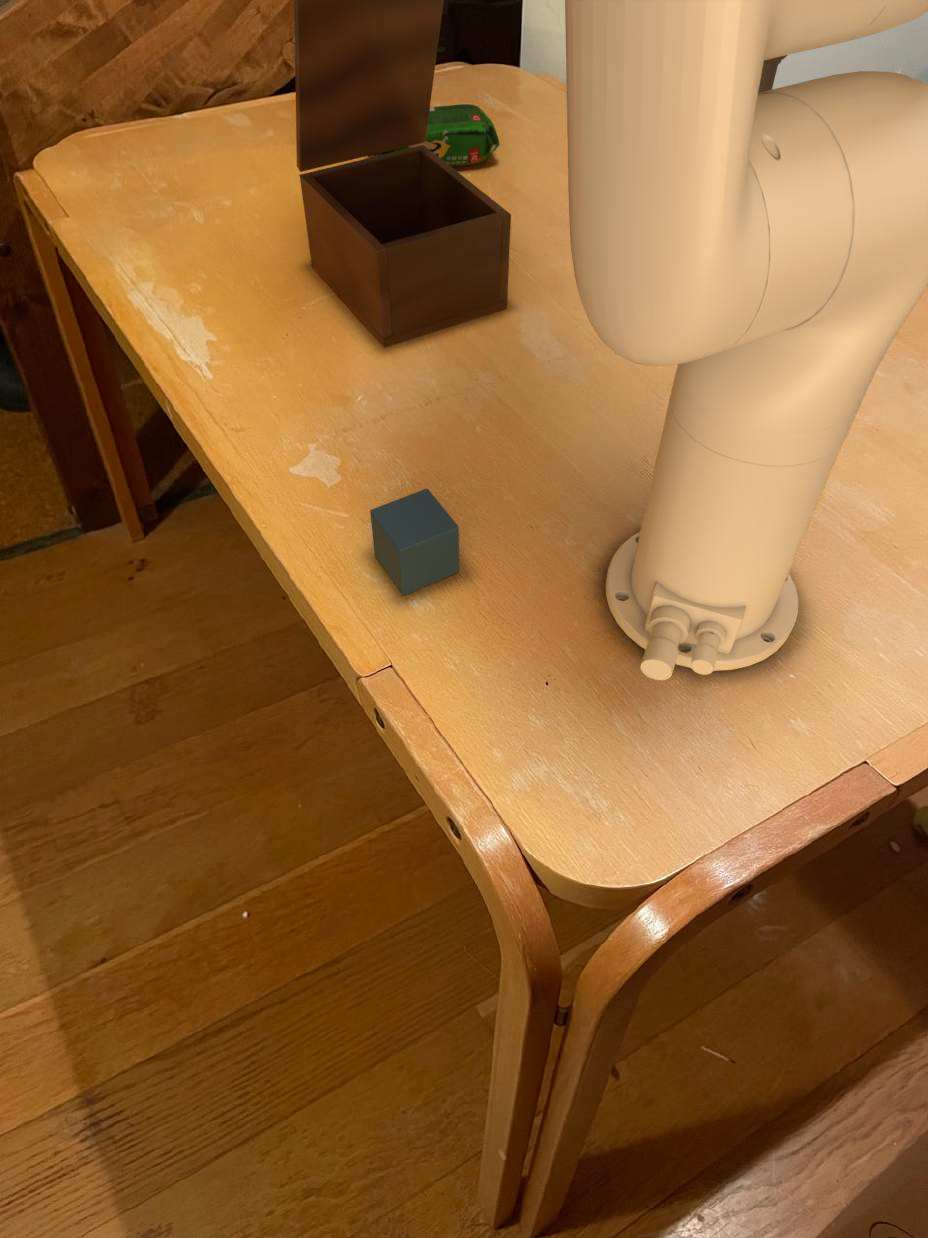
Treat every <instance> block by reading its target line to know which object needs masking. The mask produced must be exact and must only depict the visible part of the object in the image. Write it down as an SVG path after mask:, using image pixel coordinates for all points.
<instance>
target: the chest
mask: <svg viewBox="0 0 928 1238" xmlns="http://www.w3.org/2000/svg"><path fill="white" fill-rule="evenodd" d="M299 182H300V189H301V197H302V203H303V210H304V211H303V212H304V218H305V226H306V227H305V228H306V233H307V234H306V235H307V240H308V247H309V256H310V264H311V268H312V269H313V270H314V271H315V272H316V273H317V274H318V275H319V277H320V278H321V279H322V281H324V282H325V283H326V284H327V286H328V287H329V288H330V289H331V290H332V291H333V292H334V294H335V295H336V296H337V297H338V298H339V299H340V300H341V301H342V302H343V304H345V306H346V308H348V309H349V310H350V312H351V313H353V314H354V316H355V317H356V318H357V319H358V320H359V321H360V323H361V324H363V326H364V327H365V328H366V329H367V330H368V332H370V333H371V335H372V336H373V337H374V338H375V339H376V340H377V341H378V343H380V345H381V346H382V347H383V348H386V347H390V346H393V345H397V344H399V343H402V342H405V341H408V340H412V339H416V338H419V337H421V336H424V335H427V334H431V333H434V332H437V331H440V330H443V329H446V328H449V327H453V326H456V325H460V324H463V323H465V322H468V321H473V320H474V319H478V318H481V317H485V316H487V315H490V314H491V315H492V314H494V313H497V312H500V311H503V310H506V309H508V291H509V268H510V248H511V247H510V245H511V228H512V226H511V225H512V223H511V222H512V214H511V213H510V212H509V211H508V210H506V208H504V207H502V206H501V205H500V204H499V203H497V202H496V201H495V200H494V199H492V198H491V197H490V196H489V195H487V194H486V193H485V192H484V191H483V190H481V189H480V188H479V187H478V186H476V185H475V184H474V183H472V182H471V181H470V180H468V179H467V178H466V177H465V176H463V175H462V174H461V173H460V172H458V171H457V170H456V169H454V167H451V166H449V165H448V164H447V163H446V162H444V161H443V160H442V159H441V158H439V157H438V156H437V155H436V154H434V153H433V152H432V151H431V150H429V149H428V148H427V147H425V146H424V145H422V146H417V147H413V148H409V149H405V150H400V151H396V152H392V153H388V154H384V155H380V156H370V157H367V158H364V159H359V160H355V161H351V162H347V163H342V164H338V165H334V166H330V167H326V168H322V169H317V170H312V171H309V172H305V173H301V174H299Z"/></svg>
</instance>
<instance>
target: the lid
mask: <svg viewBox="0 0 928 1238" xmlns="http://www.w3.org/2000/svg"><path fill="white" fill-rule="evenodd" d="M444 1H445V0H293V7H294V8H293V16H294V17H293V18H294V20H293V21H294V25H293V26H294V27H293V28H294V74H295V75H294V80H295V83H294V84H295V133H296V134H295V137H296V138H295V139H296V141H295V142H296V167H297V169H298V171H299V172H300V173H302V172H306V171H311V170H315V169H318V168H323V167H327V166H332V165H336V164H340V163H345V162H349V161H352V160H357V159H360V158H361V159H362V158H365V157H368V156H369V155H374V154H378V153H382V152H386V151H390V150H395V149H399V148H403V147H407V146H411V145H416V144H420V143H424V142H425V141H426V133H427V125H428V117H429V110H430V107H431V101H432V94H433V86H434V78H435V70H436V63H437V54H438V47H439V40H440V30H441V24H442V18H443V17H442V15H443V10H444V9H443V8H444Z"/></svg>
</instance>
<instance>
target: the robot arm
mask: <svg viewBox="0 0 928 1238" xmlns="http://www.w3.org/2000/svg"><path fill="white" fill-rule="evenodd" d="M926 13H928V0H564V16H565V17H564V18H565V19H564V20H565V21H564V22H565V72H566V73H565V75H566V77H565V78H566V79H565V81H566V122H567V123H566V126H567V127H566V131H567V188H568V220H569V221H568V223H569V238H570V251H571V259H572V266H573V273H574V277H575V283H576V287H577V291H578V294H579V297H580V301H581V304H582V307H583V310H584V312H585V314H586V317H587V319H588V321H589V323H590V325H591V326H592V328H593V330H594V332H596V334H597V336H598V338H599V339H600V340H601V341H602V342H603V343H604V344H605V345H606V347H608V348H609V349H610V350H611V351H612V352H613V353H615V355H618V356H619V357H621V358H622V359H625V360H627V361H629V362H632V363H634V364H638V365H642V366H649V367H668V366H676V370H675V374H674V378H673V383H672V387H671V391H670V396H669V400H668V405H667V409H666V414H665V418H664V424H663V426H662V431H661V436H660V440H659V445H658V450H657V455H656V459H655V463H654V468H653V471H652V472H653V473H652V478H651V482H650V487H649V490H648V494H647V495H648V496H647V500H646V505H645V508H644V513H643V518H642V522H641V527H640V530H639V531H638V532H636V533H635V534H633V535H631V536H629V538H628V539H626V540H625V541H624V542H623V543H622V544H621V545H620V546H619V547H618V548H617V550H616V551H615V553H614V554H613V556H612V558H611V560H610V562H609V565H608V568H607V572H606V573H607V574H606V579H605V598H606V601H607V605H608V608H609V611H610V612H611V614H612V616H613V618H614V619H615V622H616V624H617V625H618V626H619V627H620V628H621V630H622V631H623V632H624V633H625V635H626V636H627V637H628V638H630V639H631V640H632V641H633V642H634V643H636V644H637V645H638V646H639V647H640V648H642V649H643V650H644V654H643V656H642V660H641V664H640V666H639V668H640V670H641V673H642V674H643V675H644V676H646V677H647V678H649V679H652V680H655V681H665V680H668V679H670V678H671V676H673V673H674V671H675V670H674V669H675V666H676V665H677V666H681V667H686V668H688V669H692V671H693V672H695V673H697V674H698V675H703V676H706V675H710V674H712V673H713V672H714V671H715V672H717V671H732V670H733V671H734V670H737V669H743V668H747V667H750V666H753V665H755V664H758V663H760V662H762V661H764V660H766V659H768V658H769V657H770V656H772V655H773V654H774V653H776V652H777V651H779V649H780V648H781V647H782V646H783V645H784V644H785V643H786V642H787V640H788V638H789V636H790V634H791V633H792V631H793V628H794V626H795V624H796V621H797V618H798V615H799V601H800V600H799V595H798V590H797V586H796V584H795V582H794V579H793V577H792V575H791V573H790V570H791V568H792V566H793V563H794V561H795V559H796V556H797V554H798V551H799V549H800V547H801V545H802V542H803V540H804V538H805V535H806V532H807V530H808V528H809V526H810V523H811V521H812V519H813V516H814V513H815V511H816V509H817V507H818V504H819V502H820V500H821V497H822V495H823V492H824V490H825V488H826V485H827V482H828V480H829V478H830V475H831V473H832V471H833V468H834V466H835V464H836V462H837V459H838V457H839V455H840V452H841V449H842V448H843V445H844V443H845V441H846V440H847V438H848V435H849V433H850V432H851V428H852V427H853V423H854V421H855V418H856V417H857V415H858V412H859V409H860V407H861V405H862V403H863V400H864V398H865V395H866V393H867V392H868V389H869V387H870V385H871V383H872V380H873V379H874V377H875V375H876V373H877V371H878V368H879V366H880V365H881V363H882V362H883V359H884V357H885V356H886V354H887V351H888V350H889V348H890V346H891V345H892V343H893V341H894V340H895V338H896V337H897V335H898V333H899V332H900V330H901V328H902V327H903V325H904V324H905V322H906V321H907V319H908V317H909V316H910V314H912V311H913V310H914V308H915V307H916V306H917V304H918V302H919V301H920V300H921V298H922V296H923V295H924V293H925V291H926V290H927V288H928V84H927V83H925V82H923V81H922V80H920V79H917V78H915V77H911V76H909V75H906V74H902V73H899V72H898V73H897V72H893V71H892V72H891V71H876V70H863V71H862V70H861V71H852V72H845V73H840V74H837V73H836V74H831V75H827V76H823V77H822V76H821V77H818V78H814V79H810V80H806V81H802V82H798V83H794V84H789V85H785V86H781V87H777V88H774V89H773V88H772V90H768V91H764V92H760V93H758V90H759V85H760V79H761V74H762V68H763V63H764V60H768V59H772V58H776V57H780V56H785V55H788V56H789V55H793V54H798V53H803V52H808V51H811V50H812V51H813V50H816V49H820V48H826V47H830V46H834V45H838V44H842V43H847V42H851V41H855V40H858V39H862V38H866V37H870V36H872V35H876V34H879V33H883V32H885V31H888V30H890V29H893V28H895V27H899V26H902V25H904V24H906V23H907V24H908V23H909V22H912V21H914V20H916V19H918V18H920V17H921V16H923V15H924V14H926Z"/></svg>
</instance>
